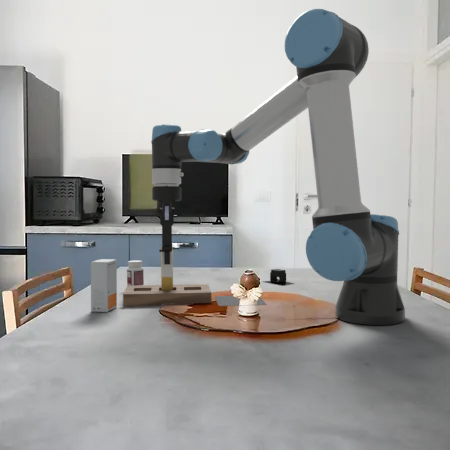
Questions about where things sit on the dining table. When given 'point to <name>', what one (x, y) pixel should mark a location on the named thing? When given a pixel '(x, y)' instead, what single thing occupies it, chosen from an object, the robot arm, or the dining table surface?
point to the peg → (166, 281)
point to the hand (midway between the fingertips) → (167, 275)
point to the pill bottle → (135, 273)
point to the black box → (281, 275)
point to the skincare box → (103, 285)
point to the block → (166, 295)
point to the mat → (233, 301)
